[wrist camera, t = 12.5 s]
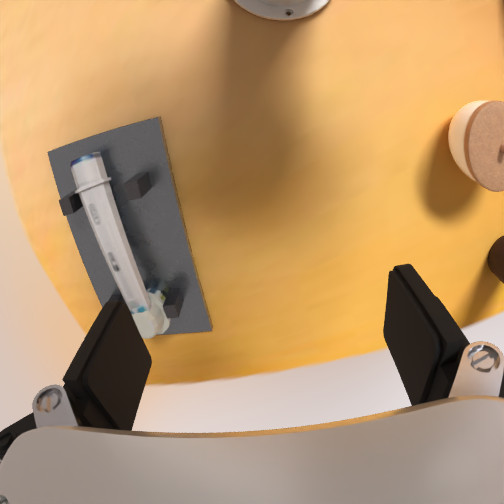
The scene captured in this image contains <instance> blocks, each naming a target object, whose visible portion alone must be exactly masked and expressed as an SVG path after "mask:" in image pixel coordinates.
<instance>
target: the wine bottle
mask: <svg viewBox="0 0 504 504" xmlns="http://www.w3.org/2000/svg"><path fill="white" fill-rule="evenodd" d="M488 264H489V267H490V269H491V271H492V272H493V273H494V274H495V275H496V276H497V277H498V278H499V279H500V280H501V281H502V282H503V283H504V236H502V237H500V238H499V239H498V240H497V241H496V242H495V243H494V245H493V247H492V248H491V251H490V253H489V257H488Z"/></svg>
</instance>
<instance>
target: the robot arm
mask: <svg viewBox="0 0 504 504" xmlns="http://www.w3.org/2000/svg"><path fill="white" fill-rule="evenodd" d="M234 1H235V2H236V3H237V4H238V5H239V6H240V7H241V8H243V9H245V10H246V11H248V12H249V13H252V14H254V15H257V16H259V17H262V18H266V19H270V20H280V21H284V20H295V19H301V18H304V17H307V16H310V15H312V14H314V13H315V12H317V11H319V10H320V9H322V8H323V7H324V6H325V5H326V4H327V3H328V2H329V0H234ZM287 12H289V13H290V14H291V15H289V16H288V15H287V14H286V13H287ZM383 333H384V338H385V341H386V343H387V346H388V348H389V350H390V353H391V355H392V357H393V360H394V362H395V365H396V367H397V369H398V372H399V374H400V377H401V379H402V381H403V384H404V387H405V389H406V392H407V394H408V397H409V399H410V402H411V405H412V406H410V407H405V408H401V409H397V410H392V411H388V412H383V413H378V414H373V415H369V416H363V417H358V418H353V419H348V420H342V421H336V422H330V423H323V424H317V425H309V426H301V427H292V428H283V429H274V430H273V429H272V430H261V431H246V432H225V433H163V432H142V431H131V430H132V427H133V423H134V420H135V417H136V413H137V409H138V406H139V403H140V400H141V396H142V393H143V390H144V387H145V384H146V380H147V377H148V374H149V371H150V368H151V363H152V361H151V356H150V354H149V352H148V350H147V348H146V345H145V343H144V341H143V339H142V337H141V335H140V332H139V330H138V328H137V326H136V323H135V321H134V319H133V317H132V314H131V312H130V310H129V307H128V306H127V305H126V304H124V303H123V302H122V301H110V302H106V303H105V305H104V306H103V308H102V310H101V311H100V313H99V315H98V316H97V318H96V320H95V322H94V323H93V325H92V327H91V328H90V330H89V332H88V334H87V335H86V337H85V339H84V341H83V343H82V344H81V346H80V348H79V350H78V351H77V353H76V355H75V357H74V359H73V361H72V362H71V364H70V366H69V368H68V370H67V372H66V374H65V376H64V378H63V381H64V382H65V384H64V386H63V387H62V386H60V385H50V386H47V387H45V388H43V389H42V390H40V391H39V393H38V394H37V395H36V396H35V398H34V400H33V404H32V405H33V413H31V414H29V415H28V416H26V417H24V418H22V419H21V420H19V421H17V422H16V423H14V424H12V425H10V426H9V427H7V428H5V429H4V430H2V431H1V432H0V504H504V356H503V353H502V352H501V351H500V349H499V348H498V347H496V346H495V345H493V344H491V343H488V342H483V341H479V342H474V343H471V344H470V343H469V342H468V340H467V338H466V337H465V335H464V334H463V332H462V331H461V329H460V328H459V326H458V325H457V324H456V322H455V321H454V319H453V318H452V316H451V315H450V313H449V312H448V311H447V309H446V308H445V306H444V305H443V304H442V302H441V301H440V299H439V298H438V297H436V296H434V294H433V293H432V292H431V290H430V289H429V288H428V286H427V285H426V284H425V282H424V281H423V280H422V278H421V277H420V276H419V274H418V273H417V272H416V270H415V269H414V268H413V266H412V265H411V264H404V265H398V266H395V267H394V269H393V271H390V272H389V278H388V290H387V302H386V311H385V321H384V329H383Z"/></svg>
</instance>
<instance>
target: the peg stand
mask: <svg viewBox="0 0 504 504" xmlns="http://www.w3.org/2000/svg"><path fill="white" fill-rule="evenodd" d="M94 152H100V153H101V157H102V160H103V164H104V167H105V170H106V174H107V177H108V178H109V177H111V180H109V184H110V187H111V190H112V194H113V197H114V200H115V203H116V207H117V210H118V213H119V216H120V219H121V222H122V225H123V228H124V231H125V234H126V237H127V240H128V243H129V246H130V249H131V251H132V254H133V257H134V260H135V262H136V265H137V268H138V271H139V273H140V276H141V278H142V281H143V284H144V286H145V289H150V288H154V289H157V290H160V291H161V293H162V294H163V295H164V296H165V297H166V298H165V301H164V304H163V309H164V312H165V314H166V317H167V319H168V318H170V325H169V327H168V329H167V330H166V331H165V332H164V333H163V334H158V335H165V334H179V333H192V332H204V331H212V328H213V325H212V322H211V319H210V315H209V312H208V308H207V305H206V301H205V298H204V294H203V291H202V287H201V283H200V280H199V276H198V273H197V269H196V265H195V261H194V258H193V254H192V250H191V246H190V242H189V239H188V235H187V231H186V227H185V223H184V219H183V215H182V211H181V207H180V202H179V198H178V194H177V190H176V186H175V181H174V177H173V173H172V168H171V164H170V159H169V155H168V150H167V145H166V141H165V136H164V131H163V127H162V122H161V117H156V118H153V119H149V120H145V121H141V122H137V123H134V124H130V125H127V126H123V127H120V128H116V129H113V130H110V131H107V132H103V133H100V134H97V135H94V136H91V137H88V138H85V139H82V140H79V141H76V142H73V143H71V144H68V145H65V146H62V147H60V148H57V149H54V150H52V151H49V152H48V156H49V160H50V163H51V167H52V171H53V174H54V178H55V181H56V185H57V188H58V192H59V195H60V198H61V199H60V200H59V203H60V206H61V209H62V212H63V215H64V216H65V215H66V217H67V220H68V222H69V225H70V228H71V231H72V234H73V237H74V239H75V242H76V245H77V248H78V250H79V253H80V255H81V258H82V261H83V263H84V266H85V268H86V270H87V273H88V275H89V278H90V280H91V283H92V285H93V287H94V290H95V292H96V294H97V296H98V299H99V301H100V303H101V305H102V308H103V306H104V305H105V303H106V302H110V301H122V302H123V303H124V304H126V305H127V303H126V301H125V299H124V297H123V295H122V293H121V291H120V289H119V287H118V285H117V283H116V281H115V279H114V277H113V275H112V272H111V270H110V268H109V266H108V264H107V262H106V259H105V257H104V255H103V253H102V250H101V248H100V246H99V243H98V241H97V239H96V236H95V234H94V231H93V229H92V227H91V224H90V222H89V219H88V217H87V214H86V212H85V209H84V206H83V204H82V201H81V199H80V196H79V193H75V191H76V190H77V187H76V184H75V180H74V177H73V174H72V170H71V167H70V163H71V162H72V161H74V160H76V159H78V158H80V157H82V156H85V155H88V154H91V153H94ZM127 306H128V305H127ZM129 310H130V309H129ZM130 312H131V311H130ZM131 314H132V313H131Z"/></svg>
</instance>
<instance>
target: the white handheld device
mask: <svg viewBox="0 0 504 504" xmlns="http://www.w3.org/2000/svg"><path fill="white" fill-rule="evenodd" d="M70 167H71V170H72V174H73V177H74V180H75V184H76V187H77V190H76V191H75V193H79V196H80V199H81V201H82V204H83V206H84V209H85V212H86V214H87V217H88V219H89V222H90V224H91V227H92V229H93V231H94V234H95V236H96V239H97V241H98V243H99V246H100V248H101V250H102V253H103V255H104V257H105V259H106V262H107V264H108V266H109V268H110V270H111V272H112V275H113V277H114V279H115V281H116V283H117V285H118V287H119V289H120V291H121V293H122V295H123V297H124V299H125V301H126V303H127V305H128V307H129V309H130V311H131V313H132V317H133V319H134V321H135V323H136V326H137V328H138V330H139V332H140V335H141V337H142V338H145V339H147V338H152V337H154V336H155V335H158V334H163V333H164V332H165V331H166V330H167V329H168V327H169V325H170V318H168V319H167V317H166V314H165V312H164V309H163V304H164V301H165V298H166V297H165V296H164V295H163V294H162V293H161V291H160V290H157V289H154V288H150V289H145V286H144V284H143V281H142V278H141V276H140V273H139V271H138V268H137V265H136V262H135V260H134V257H133V254H132V251H131V249H130V246H129V243H128V240H127V237H126V234H125V231H124V228H123V225H122V222H121V219H120V216H119V213H118V210H117V207H116V203H115V200H114V197H113V194H112V190H111V187H110V184H109V180H111V177H109V178H108V177H107V174H106V170H105V167H104V164H103V160H102V157H101V153H100V152H94V153H91V154H88V155H85V156H82V157H80V158H78V159H76V160H74V161H72V162H71V163H70Z"/></svg>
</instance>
